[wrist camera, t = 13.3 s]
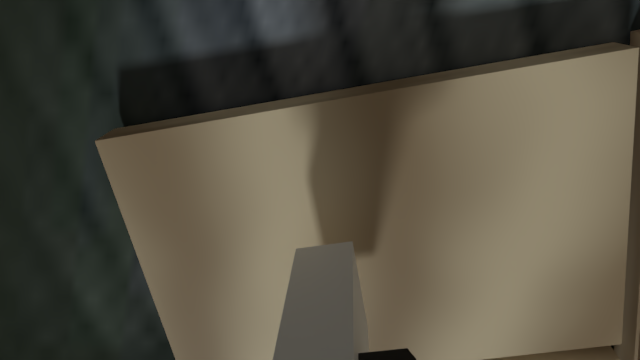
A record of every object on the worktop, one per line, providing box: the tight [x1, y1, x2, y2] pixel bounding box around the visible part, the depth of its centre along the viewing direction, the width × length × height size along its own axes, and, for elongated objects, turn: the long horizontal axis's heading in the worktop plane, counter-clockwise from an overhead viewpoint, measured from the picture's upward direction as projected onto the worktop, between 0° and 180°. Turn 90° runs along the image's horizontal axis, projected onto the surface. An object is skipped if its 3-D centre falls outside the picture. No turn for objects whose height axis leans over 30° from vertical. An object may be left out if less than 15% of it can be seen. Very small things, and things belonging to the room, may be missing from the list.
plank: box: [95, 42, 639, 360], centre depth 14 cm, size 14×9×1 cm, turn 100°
